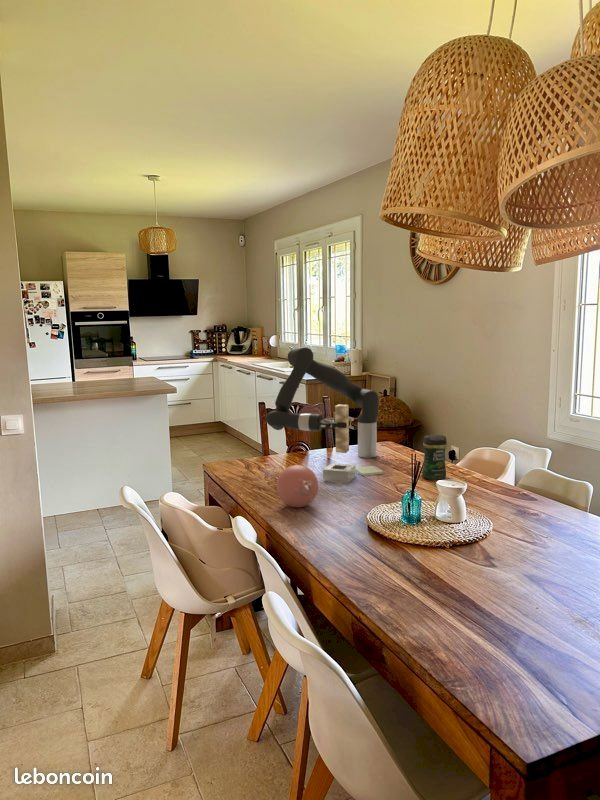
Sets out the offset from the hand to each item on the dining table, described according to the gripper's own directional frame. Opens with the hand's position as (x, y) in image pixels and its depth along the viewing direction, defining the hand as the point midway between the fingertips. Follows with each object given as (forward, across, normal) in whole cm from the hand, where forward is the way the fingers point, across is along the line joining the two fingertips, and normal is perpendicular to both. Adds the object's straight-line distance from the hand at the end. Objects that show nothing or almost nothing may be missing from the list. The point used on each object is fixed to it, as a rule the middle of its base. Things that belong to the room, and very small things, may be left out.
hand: (348, 424), depth 240 cm
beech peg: (-3, 0, +12) cm, 12 cm away
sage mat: (+5, +13, +24) cm, 27 cm away
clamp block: (-4, -2, +24) cm, 24 cm away
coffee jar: (+34, +12, +24) cm, 44 cm away
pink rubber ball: (-6, -42, +24) cm, 49 cm away
